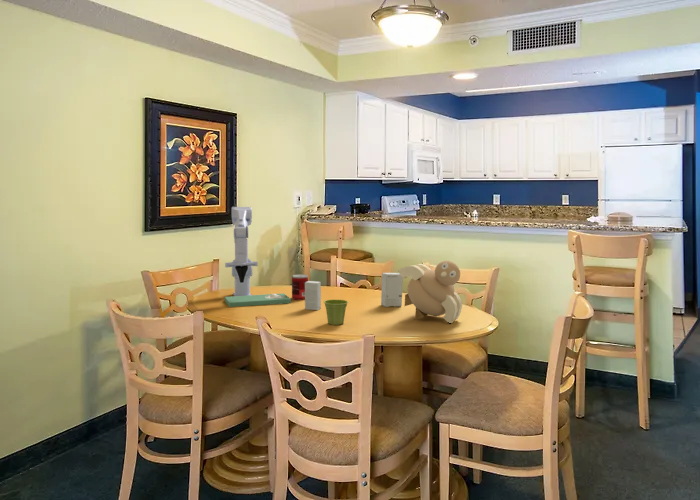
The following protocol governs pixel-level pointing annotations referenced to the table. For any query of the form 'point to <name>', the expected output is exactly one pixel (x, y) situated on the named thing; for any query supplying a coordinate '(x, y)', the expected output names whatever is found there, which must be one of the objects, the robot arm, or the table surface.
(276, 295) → the ball
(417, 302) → the chick figurine
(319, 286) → the skincare box
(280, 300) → the green
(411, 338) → the table surface
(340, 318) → the plant pot
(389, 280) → the skincare box
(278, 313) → the table surface
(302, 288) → the canned food
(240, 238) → the robot arm
